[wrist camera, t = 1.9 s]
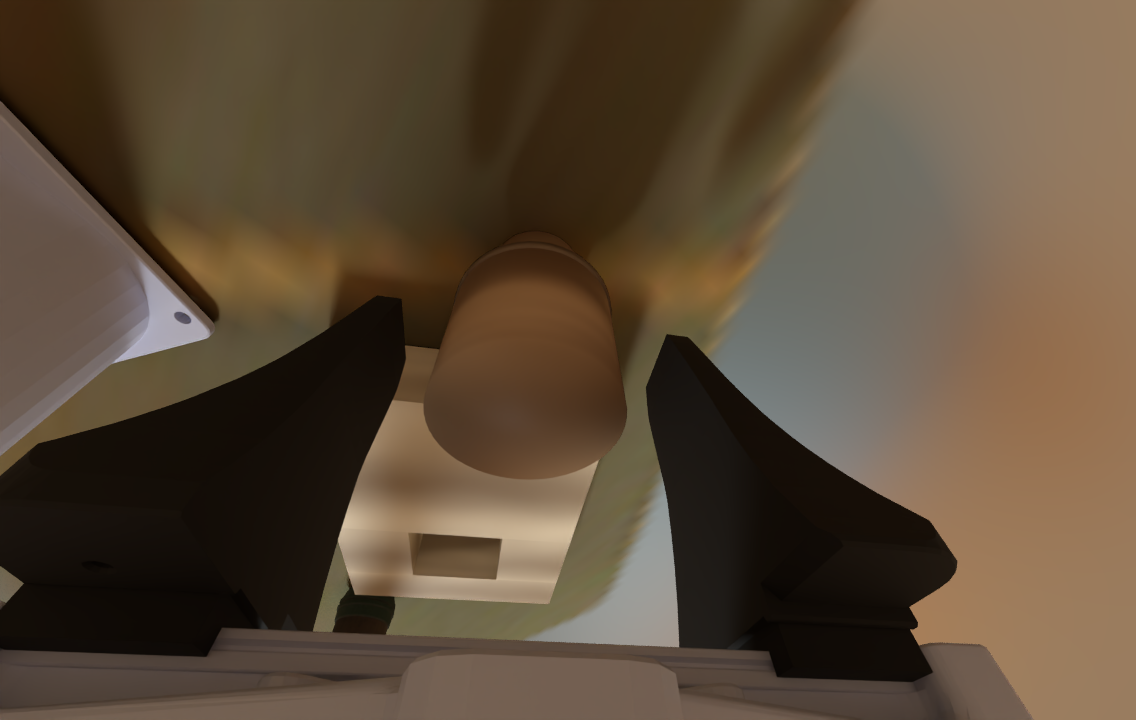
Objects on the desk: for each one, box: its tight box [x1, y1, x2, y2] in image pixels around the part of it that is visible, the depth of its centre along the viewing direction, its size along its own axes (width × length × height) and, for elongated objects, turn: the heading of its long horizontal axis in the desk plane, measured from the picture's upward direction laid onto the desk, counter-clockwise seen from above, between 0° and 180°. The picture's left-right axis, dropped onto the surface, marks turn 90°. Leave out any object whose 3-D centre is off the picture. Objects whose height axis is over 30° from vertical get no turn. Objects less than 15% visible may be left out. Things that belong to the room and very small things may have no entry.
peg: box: [423, 231, 627, 480], centre depth 13 cm, size 5×5×7 cm
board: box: [338, 345, 599, 604], centre depth 22 cm, size 16×11×3 cm
